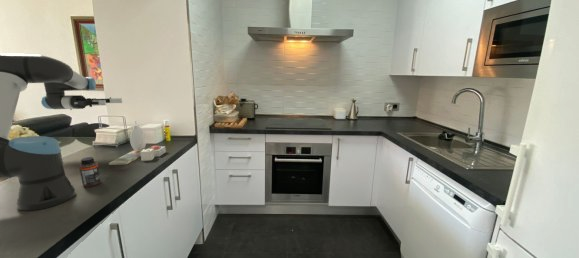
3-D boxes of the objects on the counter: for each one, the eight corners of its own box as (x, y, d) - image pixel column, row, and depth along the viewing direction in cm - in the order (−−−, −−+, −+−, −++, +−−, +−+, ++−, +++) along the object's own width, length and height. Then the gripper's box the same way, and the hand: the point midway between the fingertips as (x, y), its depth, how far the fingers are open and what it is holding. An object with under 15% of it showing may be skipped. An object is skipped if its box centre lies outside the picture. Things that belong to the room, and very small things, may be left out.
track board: (127, 164, 124) (126, 162, 124) (108, 164, 124) (108, 162, 124) (151, 150, 148) (151, 148, 148) (136, 150, 147) (135, 148, 147)
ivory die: (151, 160, 131) (150, 150, 129) (141, 160, 130) (140, 151, 128) (154, 157, 135) (153, 148, 134) (144, 157, 134) (143, 148, 133)
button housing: (159, 156, 136) (158, 150, 136) (144, 156, 136) (143, 150, 135) (165, 152, 144) (165, 146, 144) (152, 152, 144) (151, 146, 143)
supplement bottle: (86, 182, 104) (81, 157, 101) (103, 180, 106) (98, 155, 103) (80, 188, 98) (75, 161, 96) (98, 185, 100) (93, 159, 98)
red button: (157, 153, 138) (156, 147, 137) (148, 153, 137) (148, 148, 137) (161, 150, 142) (160, 145, 142) (153, 150, 142) (152, 145, 142)
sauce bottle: (132, 149, 145) (128, 120, 141) (147, 148, 148) (144, 119, 145) (130, 153, 138) (126, 122, 134) (146, 151, 142) (142, 121, 138)
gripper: (92, 106, 150) (128, 105, 150) (56, 111, 125) (98, 111, 126) (90, 94, 148) (126, 93, 149) (53, 96, 124) (96, 96, 124)
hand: (113, 101), depth 137 cm, fingers open, 13 cm apart
